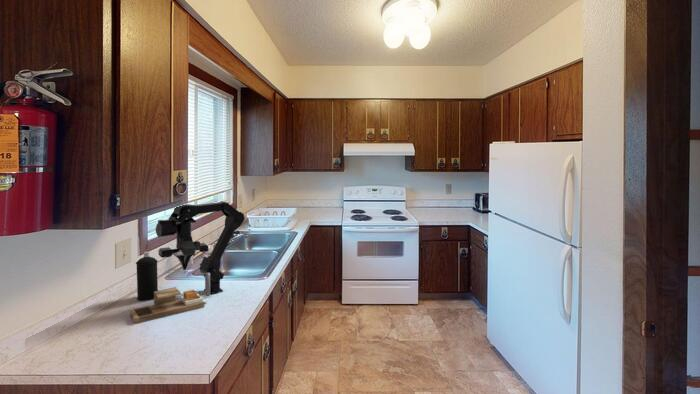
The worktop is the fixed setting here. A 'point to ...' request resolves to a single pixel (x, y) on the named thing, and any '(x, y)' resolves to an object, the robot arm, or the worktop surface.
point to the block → (190, 295)
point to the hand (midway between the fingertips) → (184, 269)
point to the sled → (200, 298)
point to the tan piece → (163, 306)
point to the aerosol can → (146, 277)
